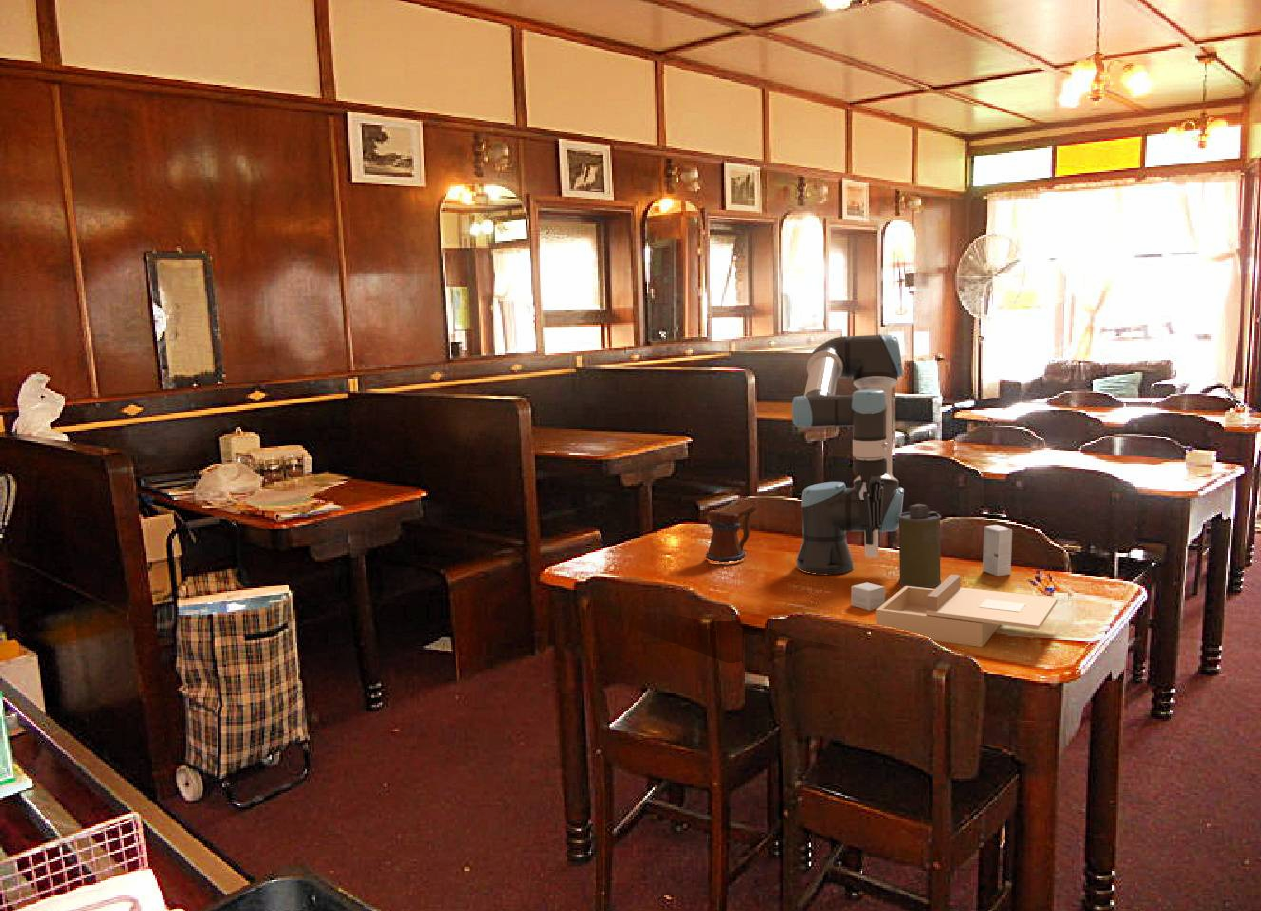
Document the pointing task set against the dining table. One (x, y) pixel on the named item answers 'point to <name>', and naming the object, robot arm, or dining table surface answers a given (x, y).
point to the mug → (728, 535)
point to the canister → (919, 547)
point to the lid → (988, 605)
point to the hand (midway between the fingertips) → (871, 556)
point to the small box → (867, 596)
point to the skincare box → (997, 550)
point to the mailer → (930, 619)
